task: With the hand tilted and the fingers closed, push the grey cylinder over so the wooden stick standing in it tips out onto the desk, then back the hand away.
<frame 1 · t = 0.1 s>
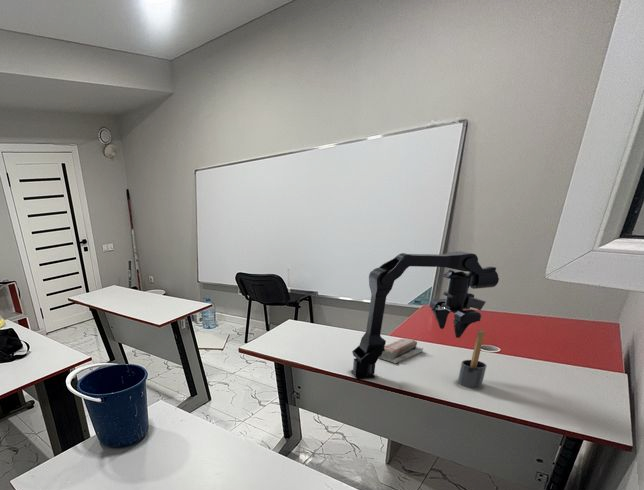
hand: (449, 333, 126), 15 cm above the table, tool pointing down, fingers open, 9 cm apart
wooden stick: (469, 383, 121), point 1 cm above the table, touching grey cylinder
grey cylinder: (469, 385, 121), on the table, touching wooden stick
packaged product: (397, 354, 148), on the table
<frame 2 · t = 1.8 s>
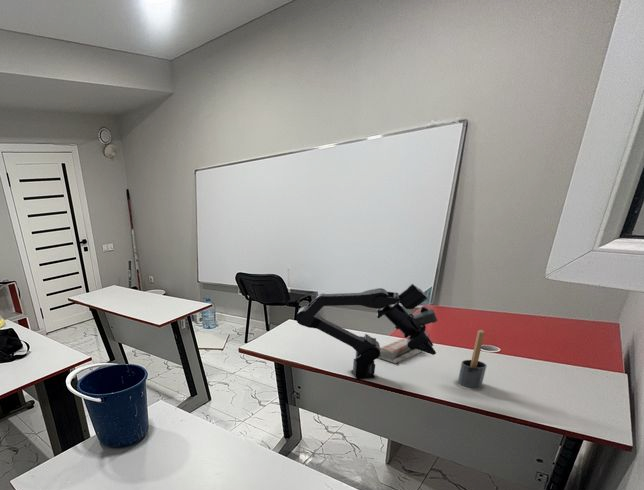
hand: (433, 349, 122), 12 cm above the table, tool tilted 45°, fingers open, 7 cm apart
nothing on the table moved.
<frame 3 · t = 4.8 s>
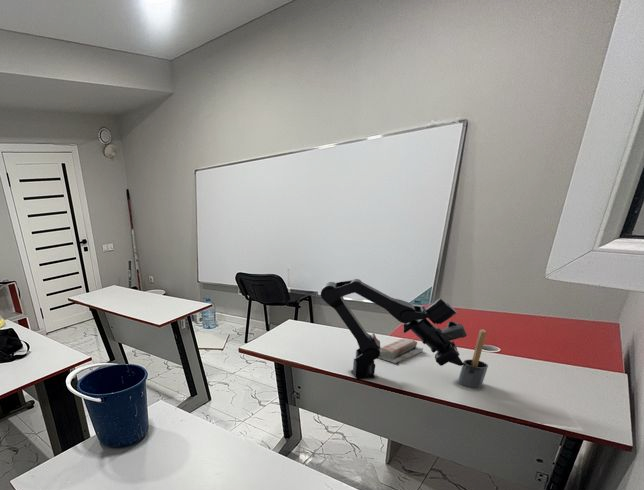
hand: (461, 364, 119), 7 cm above the table, tool tilted 45°, fingers closed, pressing on grey cylinder
grey cylinder: (469, 384, 121), on the table, touching gripper, wooden stick
everything else where it was.
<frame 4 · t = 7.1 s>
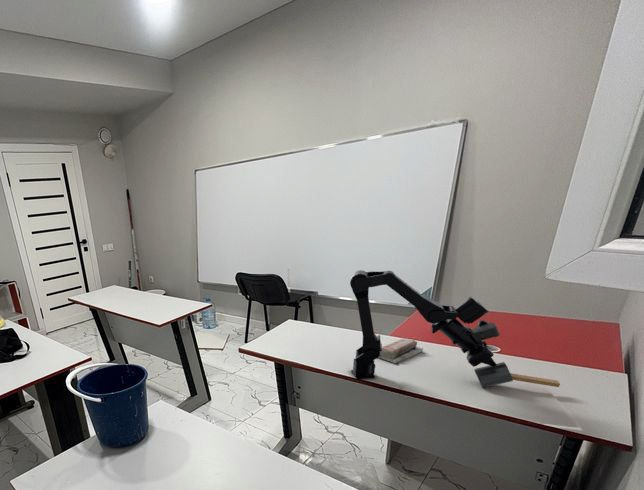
hand: (494, 365, 115), 8 cm above the table, tool tilted 45°, fingers closed, pressing on grey cylinder
wooden stick: (481, 371, 118), point 5 cm above the table, tilted 96°, touching grey cylinder
grey cylinder: (477, 378, 119), point 3 cm above the table, tilted 65°, touching gripper, wooden stick
everything else where it was.
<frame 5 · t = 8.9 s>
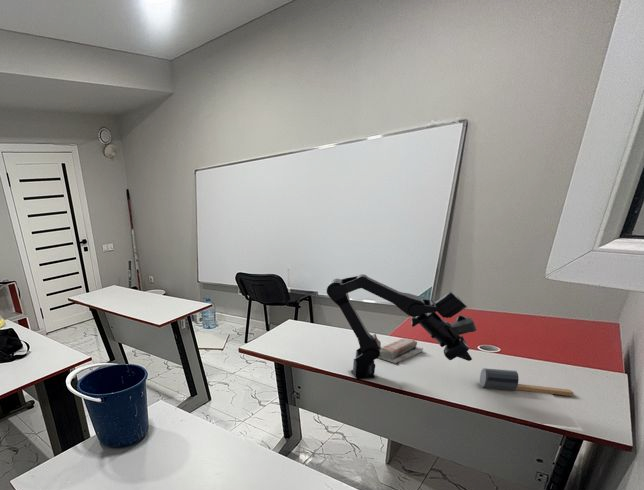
hand: (470, 359, 118), 9 cm above the table, tool tilted 45°, fingers closed
wooden stick: (492, 383, 117), point 1 cm above the table, tilted 92°, touching grey cylinder
grey cylinder: (482, 377, 118), point 3 cm above the table, tilted 90°, touching wooden stick
everything else where it was.
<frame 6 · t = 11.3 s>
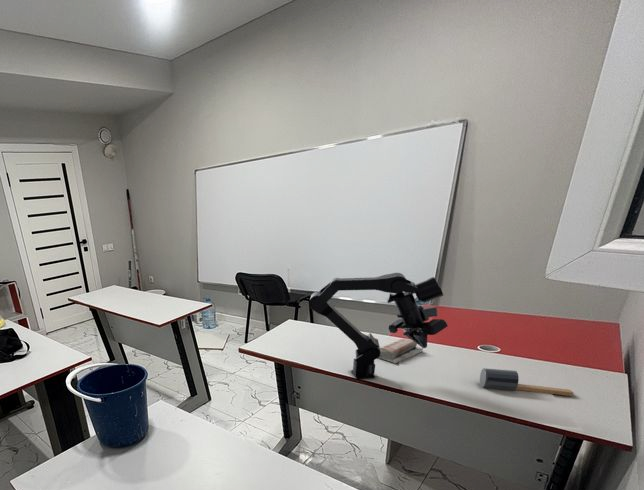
hand: (425, 347, 123), 12 cm above the table, tool tilted 25°, fingers closed
nothing on the table moved.
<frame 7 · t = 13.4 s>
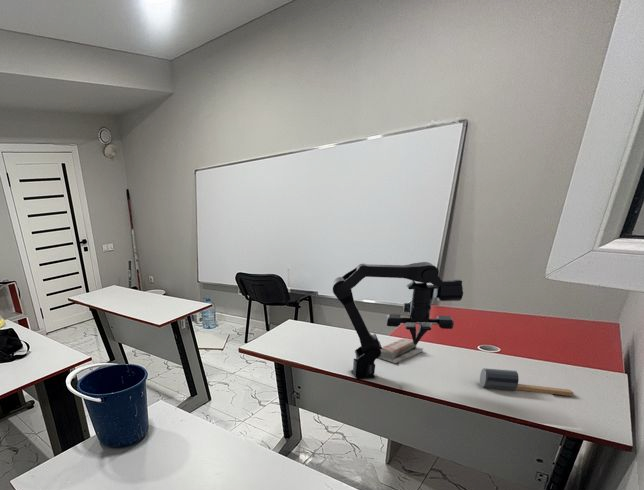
hand: (415, 344, 125), 13 cm above the table, tool pointing down, fingers closed
nothing on the table moved.
at the end: grey cylinder tilted 90°; wooden stick touching grey cylinder, table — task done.
